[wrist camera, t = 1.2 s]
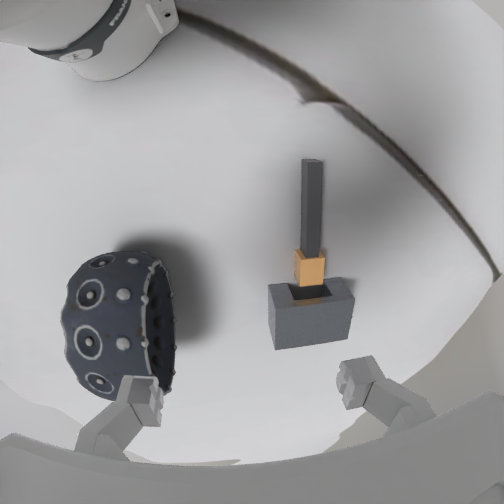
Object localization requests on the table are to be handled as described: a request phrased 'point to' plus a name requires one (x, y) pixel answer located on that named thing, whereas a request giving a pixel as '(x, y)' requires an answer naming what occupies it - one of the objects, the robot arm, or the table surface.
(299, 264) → the plug
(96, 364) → the dotted bowl
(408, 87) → the table surface
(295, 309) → the slotted block
